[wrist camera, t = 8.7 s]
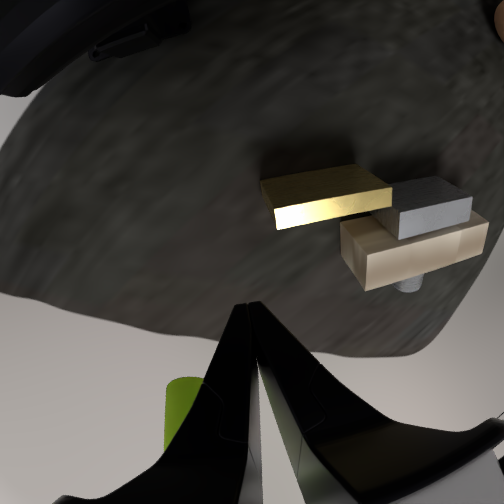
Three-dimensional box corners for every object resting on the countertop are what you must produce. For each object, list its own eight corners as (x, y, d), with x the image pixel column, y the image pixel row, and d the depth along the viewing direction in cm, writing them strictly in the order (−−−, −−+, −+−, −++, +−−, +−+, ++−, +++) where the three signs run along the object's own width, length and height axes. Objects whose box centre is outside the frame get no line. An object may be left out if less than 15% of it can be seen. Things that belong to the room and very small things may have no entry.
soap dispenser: (164, 404, 32) (165, 558, 15) (168, 373, 29) (168, 560, 12) (211, 409, 33) (226, 559, 16) (222, 379, 30) (244, 559, 13)
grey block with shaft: (367, 187, 21) (400, 212, 17) (436, 175, 21) (472, 196, 17) (366, 281, 26) (389, 315, 22) (427, 263, 26) (453, 291, 22)
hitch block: (340, 222, 22) (367, 255, 18) (454, 198, 22) (488, 222, 18) (340, 254, 24) (365, 290, 20) (450, 227, 24) (481, 253, 20)
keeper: (259, 180, 20) (274, 209, 15) (355, 163, 20) (392, 187, 16) (262, 196, 20) (277, 229, 16) (356, 179, 20) (391, 206, 16)
